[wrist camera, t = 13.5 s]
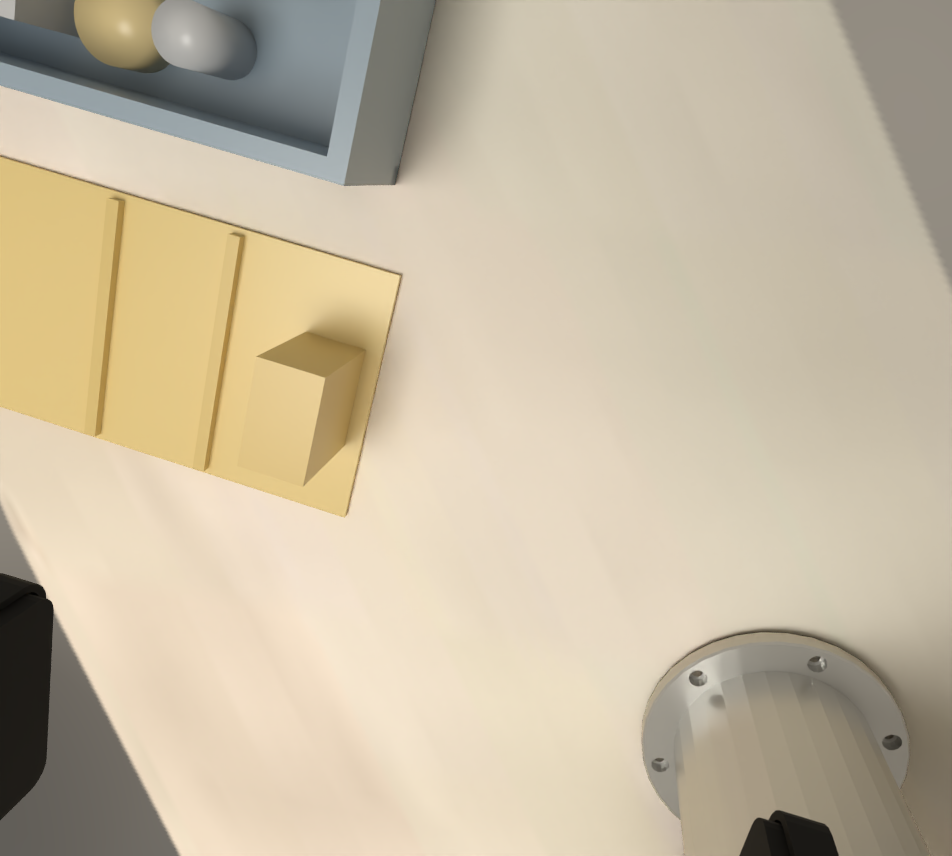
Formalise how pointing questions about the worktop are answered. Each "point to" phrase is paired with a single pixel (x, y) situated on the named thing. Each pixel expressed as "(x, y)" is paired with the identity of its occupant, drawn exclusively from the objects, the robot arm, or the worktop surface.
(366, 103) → the tub
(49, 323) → the lid
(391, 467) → the worktop surface
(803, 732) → the robot arm
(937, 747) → the worktop surface
